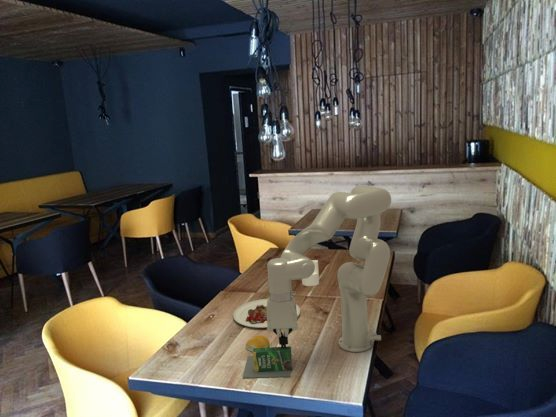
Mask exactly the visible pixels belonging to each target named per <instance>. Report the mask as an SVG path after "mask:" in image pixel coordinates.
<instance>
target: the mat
mask: <svg viewBox="0 0 556 417" xmlns="http://www.w3.org/2000/svg"><path fill="white" fill-rule="evenodd" d="M291 371H292V370H284V371H266V372H255V370H254V359H253V355H248V356H247V359H246V362H245V367H244V371H243V374H242V379H243V380H244V379H273V378H274V379H275V378H279V379H280V378H290V377H291Z"/></svg>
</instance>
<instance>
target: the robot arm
mask: <svg viewBox="0 0 556 417" xmlns="http://www.w3.org/2000/svg"><path fill="white" fill-rule="evenodd" d="M391 204H392V195H391V194H390V192H389V191H388V190H387V189H385V188H383V187H381V188H380V187H376V186H368V185H357V186H356V185H355V187H353V188H352V189H351V191H350V192H344V191H336V192H333V193H332V194H330V196H329V198H327V200H326V201H325V203H324V205H323V206H322V208H321V209H320V210H319V212H318V213H317V215H316V216H315V218H314V220H313V221H312V222H311V224H310V225H308V226H307V227H305V228H304V229H302V230H300V232H299V233H297V234H296V235H295V236H293V238H291V240H290V241H289V242H288V244H287V245H286V247H285V248H284V250H283V251H282V253H281V255H280V257H275V258H272V259H269V260H268V262H267V264H266V266H267V269H266V270H267V281H268V282H267V283H268V296H269V297H268V298H267V299H268V300H267V327H266V330H267V331H268V332H272V333H274V334H275V335H277V337H278V345H281V346H280V347H281V348H283V347H284V348H286V347H287V345H289V335H291V333H292V332H294V331H295V332H296V331H298V330H299V325H298V317H297V310H296V304H297V303H296V298H295V297H294V296H297V292H296V291H294V290H293V289H292V281H294V280H302V279H305V278H308V277H310V276H311V275H312V274H313V272H314V270H315V265H314V263H313V261H312V260H313V259H311V258H309V257H307V256H305V255H304V254H305V253H306V251H307V250H308V249H310V247H312V246H314V245H316V244H319V243H322V242H323V243H324V242H326V241H329V240H332V238H333V236H334V235H335V233H336V232H337V231H338V229H339V228H340V226H341V225H342V223H343V221H344V220H345V219H350V220H356V225H355V229H354V232H353V235H352V237H351V241H350V245H349V248H348V250H349V251H348V252H349V255H350V256H351V257H352V258H353V259H355V260H357V261H359V262H363V263H364V265H362V264H360V263H356V262H354V261H348V262H344V263H343V264H341V266H340V267H339V268H338V270H337V283H338V288H339V292H340V304H341V306H340V309H341V310H340V311H341V314H340V315H341V331H342V332H341V334H342V336H340V338H339V339H338V346H339V348H341V349H342V350H345V351H347V352H352V353H360V352H361V353H362V352H365V351H368V350H370V349H371V348H372V347H373V342H374V341H376V342H377V341H382V336H381V334H377V332H369V325H368V324H369V322H368V321H369V320H368V299H367V298H368V297H374V296H375V295H377V294H378V292H379V291H380V289H381V287H382V284H383V282H384V277H385V275H386V272H387V268H388V266H389V262H390V257H391V249H390V247H389V245H388V243H387V242H386V241H384V240H382V239H380V238H378V237H379V234H380V230H381V224H382V223H381V216H380V214H382V213H384V212H386V211H387V210H388V209H389V208H390V206H391ZM282 330H284V332H283V331H282Z"/></svg>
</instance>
